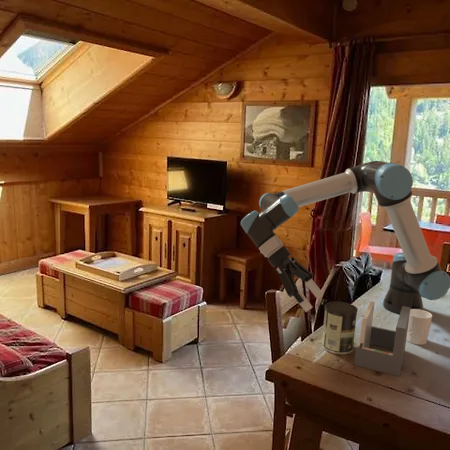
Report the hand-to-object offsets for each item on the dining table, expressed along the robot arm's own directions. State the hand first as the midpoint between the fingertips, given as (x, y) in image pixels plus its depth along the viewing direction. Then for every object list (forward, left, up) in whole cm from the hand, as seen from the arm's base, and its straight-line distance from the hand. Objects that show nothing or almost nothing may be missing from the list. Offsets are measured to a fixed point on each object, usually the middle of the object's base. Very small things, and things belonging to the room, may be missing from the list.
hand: (315, 302), depth 151 cm
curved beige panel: (-17, +1, -13) cm, 21 cm away
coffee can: (-8, 0, -14) cm, 16 cm away
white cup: (-31, -19, -14) cm, 40 cm away
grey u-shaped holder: (-21, 0, -14) cm, 26 cm away
